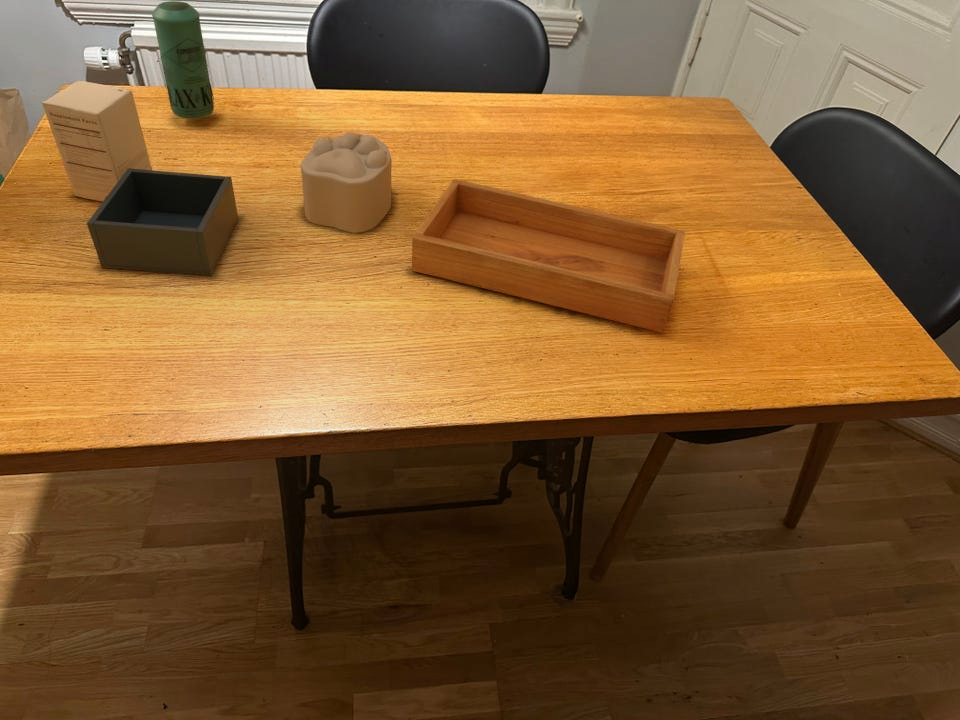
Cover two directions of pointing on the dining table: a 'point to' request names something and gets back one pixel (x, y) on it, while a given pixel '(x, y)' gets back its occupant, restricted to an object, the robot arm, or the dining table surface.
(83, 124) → the white packaging box
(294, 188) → the dining table surface
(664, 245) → the tray
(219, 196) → the dark grey storage bin
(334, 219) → the lumpy-topped squat cylinder
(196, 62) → the beverage bottle
